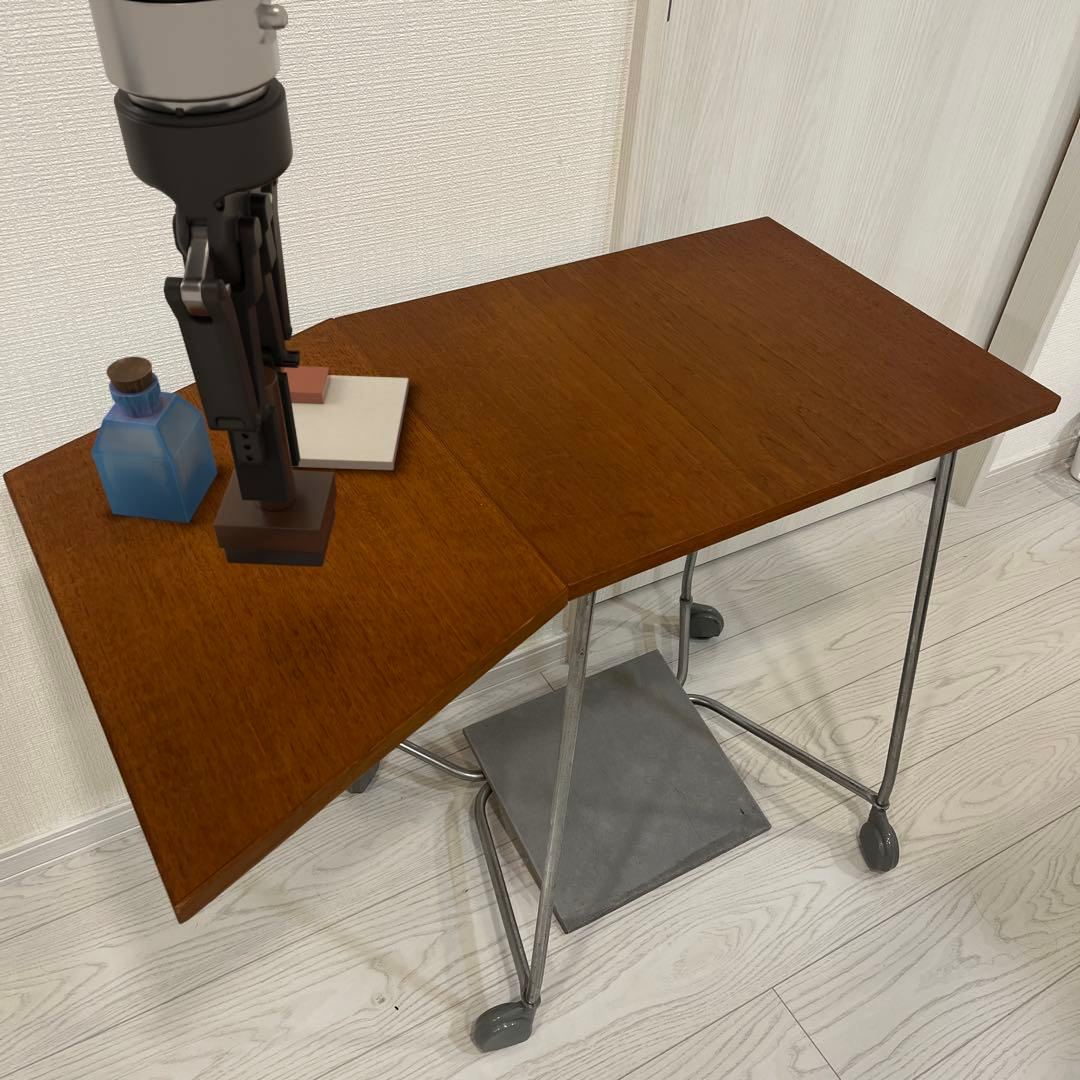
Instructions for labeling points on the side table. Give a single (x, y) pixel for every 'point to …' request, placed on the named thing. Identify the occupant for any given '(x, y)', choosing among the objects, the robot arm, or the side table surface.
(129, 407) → the perfume bottle
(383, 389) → the tile
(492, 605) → the side table surface
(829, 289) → the side table surface
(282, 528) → the stamp
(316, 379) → the reddish-brown flat block
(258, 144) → the robot arm
